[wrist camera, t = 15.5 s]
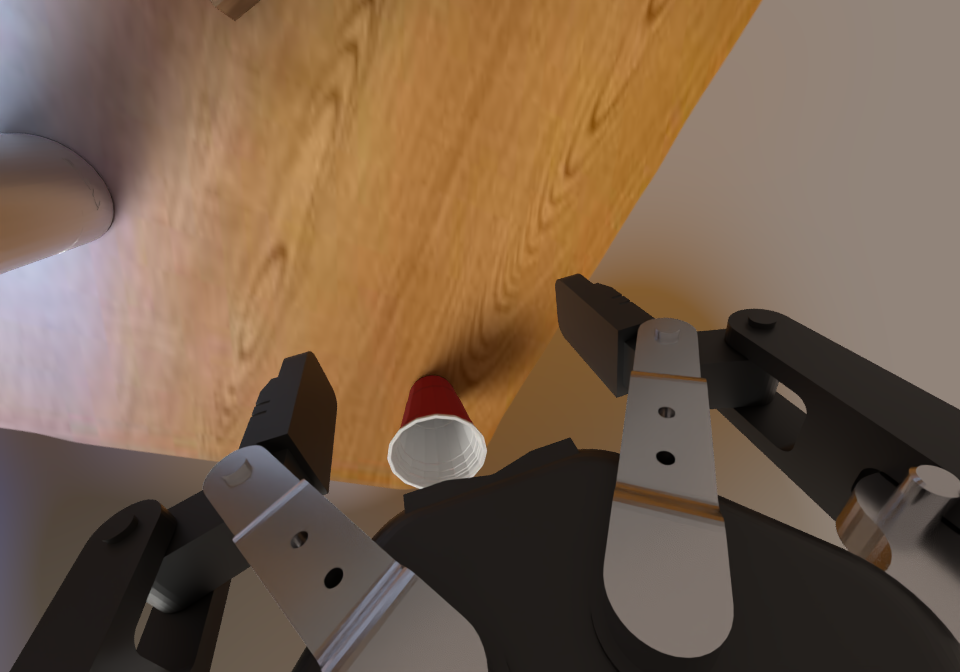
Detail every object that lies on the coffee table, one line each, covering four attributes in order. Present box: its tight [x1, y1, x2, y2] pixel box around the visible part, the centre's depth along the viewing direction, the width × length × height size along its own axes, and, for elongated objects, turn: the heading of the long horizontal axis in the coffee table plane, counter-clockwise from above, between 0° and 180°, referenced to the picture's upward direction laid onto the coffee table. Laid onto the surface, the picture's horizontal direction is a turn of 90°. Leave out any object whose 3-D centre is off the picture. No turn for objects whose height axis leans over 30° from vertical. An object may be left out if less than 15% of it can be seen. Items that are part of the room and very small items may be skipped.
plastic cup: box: [387, 375, 487, 489], centre depth 46 cm, size 11×11×12 cm
